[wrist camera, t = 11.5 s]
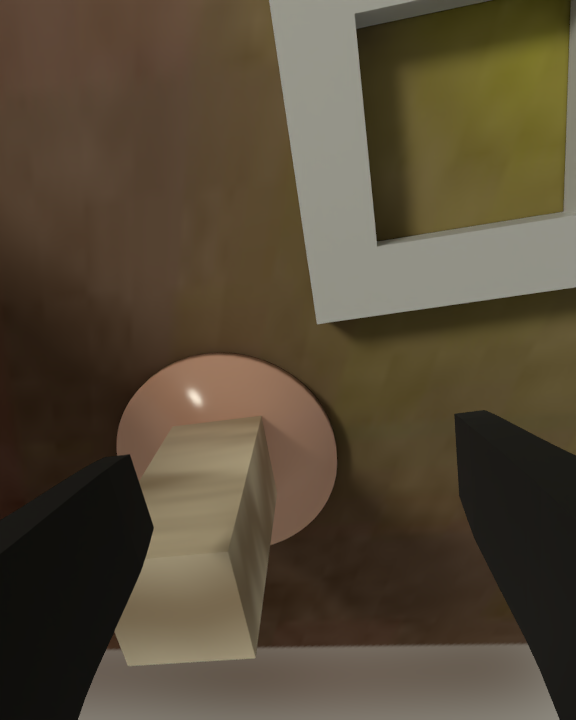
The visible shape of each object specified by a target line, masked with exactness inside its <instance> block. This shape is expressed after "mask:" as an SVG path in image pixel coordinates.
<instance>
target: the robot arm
mask: <svg viewBox="0 0 576 720" xmlns="http://www.w3.org/2000/svg"><path fill="white" fill-rule="evenodd" d="M454 415H455V432H456V448H457V465H458V481H459V496H460V499H461V502H462V505H463V508H464V511H465V514H466V516H467V519H468V522H469V525H470V527H471V530H472V533H473V536H474V538H475V540H476V542H477V544H478V546H479V549H480V551H481V553H482V555H483V556H484V558H485V560H486V562H487V564H488V566H489V568H490V570H491V572H492V574H493V576H494V578H495V580H496V582H497V584H498V586H499V588H500V590H501V592H502V594H503V596H504V598H505V600H506V602H507V604H508V606H509V608H510V610H511V612H512V614H513V616H514V617H515V619H516V621H517V623H518V625H519V627H520V629H521V631H522V633H523V635H524V637H525V639H526V641H527V643H528V645H529V647H530V650H531V652H532V654H533V656H534V658H535V660H536V663H537V665H538V667H539V669H540V671H541V674H542V676H543V679H544V681H545V684H546V686H547V689H548V691H549V694H550V696H551V699H552V701H553V704H554V706H555V709H556V711H557V714H558V716H559V719H560V720H576V455H573V454H571V453H569V452H567V451H565V450H563V449H561V448H559V447H557V446H555V445H553V444H551V443H549V442H547V441H545V440H543V439H541V438H539V437H537V436H535V435H533V434H531V433H529V432H528V431H526V430H524V429H522V428H520V427H518V426H516V425H514V424H512V423H510V422H508V421H506V420H505V419H503V418H501V417H499V416H497V415H495V414H492V413H490V412H488V411H485V410H482V411H474V412H466V413H458V414H454ZM153 530H154V526H153V523H152V520H151V517H150V514H149V511H148V508H147V504H146V501H145V498H144V495H143V492H142V489H141V486H140V483H139V480H138V477H137V474H136V471H135V468H134V465H133V462H132V459H131V456H130V454H127V455H119V456H111V457H105V458H102V459H100V460H98V461H96V462H94V463H92V464H90V465H89V466H87V467H85V468H83V469H82V470H80V471H78V472H77V473H75V474H73V475H72V476H70V477H68V478H67V479H65V480H64V481H62V482H61V483H59V484H57V485H56V486H54V487H53V488H51V489H49V490H48V491H46V492H45V493H43V494H42V495H40V496H38V497H37V498H35V499H34V500H32V501H31V502H29V503H27V504H26V505H24V506H23V507H21V508H20V509H18V510H16V511H15V512H13V513H11V514H10V515H8V516H6V517H5V518H3V519H1V520H0V720H78V717H79V715H80V711H81V709H82V706H83V703H84V700H85V697H86V695H87V692H88V690H89V688H90V685H91V683H92V680H93V677H94V675H95V673H96V671H97V668H98V666H99V664H100V662H101V660H102V657H103V655H104V653H105V651H106V649H107V646H108V644H109V642H110V640H111V638H112V635H113V633H114V631H115V629H116V627H117V624H118V622H119V620H120V618H121V616H122V613H123V611H124V609H125V607H126V605H127V602H128V600H129V598H130V595H131V593H132V591H133V589H134V586H135V584H136V582H137V580H138V577H139V575H140V573H141V570H142V567H143V564H144V561H145V558H146V555H147V551H148V548H149V544H150V541H151V537H152V533H153Z"/></svg>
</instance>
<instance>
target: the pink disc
mask: <svg viewBox="0 0 576 720" xmlns="http://www.w3.org/2000/svg"><path fill="white" fill-rule="evenodd" d="M255 416H262V421H263V426H264V431H265V436H266V441H267V446H268V451H269V456H270V461H271V466H272V470H273V475H274V480H275V485H276V490H277V498H276V505H275V513H274V521H273V528H272V536H271V544H270V545H273V544H275V543H278V542H281V541H283V540H285V539H287V538H289V537H291V536H293V535H295V534H296V533H298V532H299V531H300V530H302V529H303V528H305V527H306V526H307V525H308V524H309V523H310V522H311V521H312V520H313V519H315V517H316V516H317V515H318V514H319V512H320V511H321V510H322V509H323V507H324V505H325V504H326V502H327V500H328V499H329V496H330V494H331V491H332V489H333V486H334V482H335V478H336V472H337V451H336V441H335V436H334V432H333V428H332V426H331V423H330V421H329V418H328V416H327V414H326V412H325V411H324V409H323V407H322V405H321V404H320V402H319V401H318V400H317V398H316V397H315V396H314V394H313V393H312V392H311V391H310V390H309V389H308V388H307V387H306V386H305V385H304V384H303V383H302V382H300V381H299V380H298V379H296V378H295V377H294V376H293V375H291V374H290V373H288V372H286V371H285V370H283V369H281V368H280V367H278V366H276V365H274V364H271V363H269V362H267V361H265V360H261V359H258V358H255V357H252V356H247V355H242V354H236V353H206V354H200V355H195V356H190V357H187V358H184V359H181V360H179V361H176V362H174V363H172V364H170V365H168V366H166V367H164V368H163V369H161V370H160V371H158V372H157V373H156V374H154V375H153V376H152V377H151V378H149V379H148V380H147V381H146V382H145V383H144V384H143V385H142V386H141V387H140V389H139V390H138V391H137V392H136V393H135V395H134V396H133V397H132V399H131V400H130V401H129V403H128V405H127V407H126V409H125V411H124V413H123V415H122V418H121V421H120V424H119V428H118V434H117V456H119V455H127V454H130V456H131V459H132V462H133V465H134V468H135V471H136V474H137V477H138V480H140V479H141V477H142V476H143V474H144V472H145V471H146V469H147V467H148V466H149V464H150V463H151V461H152V459H153V458H154V456H155V454H156V453H157V451H158V449H159V448H160V446H161V445H162V443H163V441H164V440H165V438H166V436H167V435H168V433H169V431H170V430H171V428H172V427H173V426H180V425H189V424H197V423H205V422H213V421H222V420H230V419H238V418H246V417H255Z"/></svg>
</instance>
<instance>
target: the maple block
mask: <svg viewBox="0 0 576 720" xmlns="http://www.w3.org/2000/svg"><path fill="white" fill-rule="evenodd" d="M139 483H140V486H141V489H142V492H143V495H144V498H145V501H146V504H147V508H148V511H149V514H150V517H151V520H152V523H153V526H154V530H153V533H152V537H151V541H150V544H149V548H148V551H147V555H146V558H145V561H144V564H143V567H142V570H141V573H140V575H139V577H138V580H137V582H136V584H135V586H134V589H133V591H132V593H131V595H130V598H129V600H128V602H127V605H126V607H125V609H124V611H123V613H122V616H121V618H120V620H119V622H118V624H117V627H116V629H115V634H116V637H117V639H118V642H119V644H120V647H121V649H122V652H123V654H124V657H125V660H126V662H127V665H128V666H140V665H155V664H172V663H188V662H204V661H219V660H234V659H250V658H256V650H257V643H258V636H259V628H260V620H261V613H262V605H263V597H264V590H265V582H266V574H267V567H268V559H269V551H270V544H271V536H272V528H273V521H274V513H275V505H276V498H277V490H276V485H275V480H274V475H273V470H272V466H271V461H270V456H269V451H268V446H267V441H266V436H265V431H264V426H263V421H262V416H255V417H246V418H238V419H230V420H222V421H213V422H205V423H197V424H189V425H180V426H173V427H172V428H171V430H170V431H169V433H168V435H167V436H166V438H165V440H164V441H163V443H162V445H161V446H160V448H159V449H158V451H157V453H156V454H155V456H154V458H153V459H152V461H151V463H150V464H149V466H148V467H147V469H146V471H145V472H144V474H143V476H142V477H141V479H140V480H139Z"/></svg>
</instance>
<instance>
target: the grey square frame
mask: <svg viewBox="0 0 576 720" xmlns="http://www.w3.org/2000/svg"><path fill="white" fill-rule="evenodd" d="M486 1H491V0H269V2H270V9H271V16H272V22H273V29H274V36H275V43H276V50H277V56H278V63H279V70H280V77H281V83H282V90H283V97H284V104H285V110H286V117H287V124H288V131H289V138H290V144H291V151H292V158H293V165H294V171H295V178H296V185H297V192H298V198H299V205H300V212H301V219H302V225H303V232H304V239H305V246H306V253H307V259H308V266H309V273H310V280H311V286H312V293H313V300H314V307H315V313H316V320H317V324H322V323H329V322H336V321H343V320H350V319H357V318H364V317H371V316H378V315H385V314H392V313H399V312H406V311H413V310H420V309H427V308H434V307H441V306H448V305H455V304H462V303H469V302H476V301H483V300H490V299H497V298H504V297H511V296H518V295H525V294H532V293H539V292H546V291H553V290H560V289H567V288H574V287H576V0H571V9H570V38H569V68H568V97H567V127H566V157H565V186H564V212H559V213H552V214H546V215H540V216H534V217H527V218H521V219H515V220H509V221H502V222H496V223H490V224H484V225H477V226H471V227H465V228H459V229H452V230H446V231H440V232H434V233H427V234H421V235H415V236H409V237H402V238H396V239H390V240H384V241H377V240H376V229H375V219H374V209H373V199H372V188H371V178H370V168H369V157H368V147H367V137H366V127H365V116H364V106H363V96H362V85H361V75H360V65H359V54H358V44H357V34H356V29H358V28H363V27H367V26H372V25H377V24H382V23H386V22H391V21H396V20H401V19H405V18H410V17H415V16H420V15H424V14H429V13H434V12H438V11H443V10H448V9H453V8H457V7H462V6H467V5H472V4H476V3H481V2H486Z"/></svg>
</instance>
